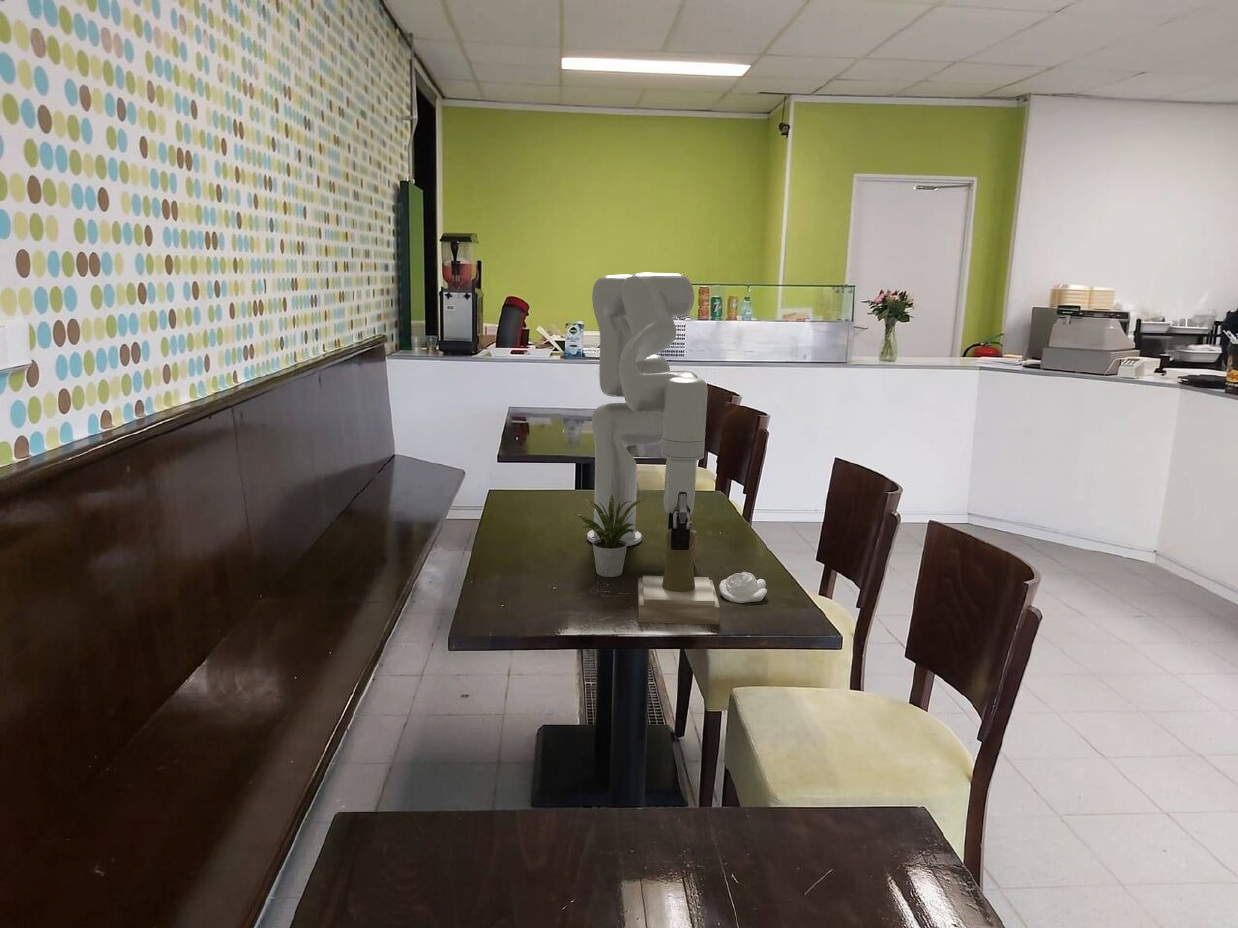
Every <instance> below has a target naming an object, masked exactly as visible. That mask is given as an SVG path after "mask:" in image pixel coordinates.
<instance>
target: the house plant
mask: <svg viewBox="0 0 1238 928" xmlns="http://www.w3.org/2000/svg"><path fill="white" fill-rule="evenodd" d="M593 499H594V500H595V497H593ZM583 500H584V501H586V502H588V503H589V504H588V505H590V506H592V507H593V508H595V509H596V510H597V512H598V514H599V516H600V514H601V516H600V518H601V521H602V523H603V525H604V528H605V529H604V530H603V529H602V528H601V527H600V526H599V525H598V524H597V523H596V522H594V520H592V519H591V518H589V517H587V516H585V515H584V514H583V515H582V514H579V513H573V514H574V515H575V516H576V517H578V518H580V520H582V521H583V522H584V523H586V525H582V526H581V527H579V528H578V530H580V529H584V528H585V529H587V528H588V529H591V530H594V531H595V532H596V533H597V535H598V536H599V537H600V539H599V540H596V541H594V542H593V543H592V548H593V549H592V550H593V555H594V557H593V558H594V562H595V569H596V574H597V575H598V576H600V577H606V578H615V577H619V576H621V575H622V574H623V569H624V565H625V558H626V553H627V547H628V546H627V543H626V542H625V541H623V540H619V539H620V538H621V537H622V536H623V535H624V534H626V533H628V532H631V533H632V534H633V531H635V530H636V529H635V530H632V529H627V528H628V527H630V526H633V524H630V523H627V524H625V525H623V524H624V523H625V521H626V520H627V519H628V518H629V517H630V516H631V515H632V514H631V515H630V516H629V517H628V518H627V519H626V520H625V521H624V519H625V517H626V516H627V514H628V513H629V512H630V510H631V509H632V508H633V507H634V506H635V505H636V506H637V505H638V504H639V503H641V502H643V501H646V500H648V499H640V500H636V502H634V503H633V504H632V505H630V506H629V507H628V508H627V510H626V511H625V513H624V515H622V516H620V517H619V512H620V510H621V508H622V507H623V506H624V505H625V504H626V503H627V502H625V503H624V504H623V505H622V506H620V504H621V503H620V502H619V504H618V506H617V510H616V518H615V524H614V523H613V522H614V498H613V495H611V497H610V502H609V509H608V511H609V516H608V514H607V512H606V510H605V508H604V507H603V505H602V504H601V503H600V502H599V501H598V502H599V503H600V505H601V506H602V508H603V510H604V512H605V514H606V515H605V514H604V513H603V511H602V510H601V508H600V507H599V506H598V505H597V504H595V502H594V501H591V500H588V499H584V498H583ZM628 502H631V501H628ZM581 507H583V508H585V509H586V510H588V511H590V512H591V510H590V509H589V508H588V507H585V506H584V505H581ZM620 507H621V508H620ZM635 511H636V512H637V509H636V510H635ZM635 511H634V512H635ZM618 517H619V518H618ZM596 518H597V517H596ZM597 519H598V518H597ZM623 521H624V523H623ZM599 522H600V521H599ZM622 523H623V524H622ZM613 524H614V527H613ZM601 525H602V524H601ZM621 525H622V526H621ZM602 527H603V526H602ZM620 527H621V528H620ZM635 528H638V526H637V524H635ZM606 534H607V535H606Z"/></svg>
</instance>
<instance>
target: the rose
mask: <svg viewBox="0 0 1238 928" xmlns="http://www.w3.org/2000/svg"><path fill="white" fill-rule="evenodd" d="M766 586H767V583H766V580H765V579H762V578H759V579H757V578H756V577H755V575H754V574H753V573H751V572H747V571H742V572H741V573H740V572H738V573H733V574H732V575H730V576H728V577H727V578H726V579H723V580H721V581H720V584H719V586H718V587H719V591H720V594H721V596H722V597H723V598H724V599H725V600H728V601H729V602H733V603H737V604H738V603H739V604H745V603H751V602H753V603H754V602H760V601H762V600H763V599H764V598H765V596H766V594H767V592H768V589H767V588H766Z"/></svg>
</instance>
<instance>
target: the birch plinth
mask: <svg viewBox="0 0 1238 928" xmlns="http://www.w3.org/2000/svg"><path fill="white" fill-rule="evenodd" d="M663 577H664V575H642V577H638V578H637V579H638V580H637V584H638V585H637V601H638V602H637V603H638V608H637V609H638V623H646V624H647V623H648V624H649V623H650V624H680V625H681V624H684V625H685V624H687V625H691V624H692V625H720V611H721V607H720V603H719V599H718V595H717V593H716V589H715V585H714V582H713V579H710V577H708V576H706V577H705V576H694V581H695V588H694V589H693V590H691V591H688V592H674V591H669V590H666V589H664V588H663V587H662V583H663Z"/></svg>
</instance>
